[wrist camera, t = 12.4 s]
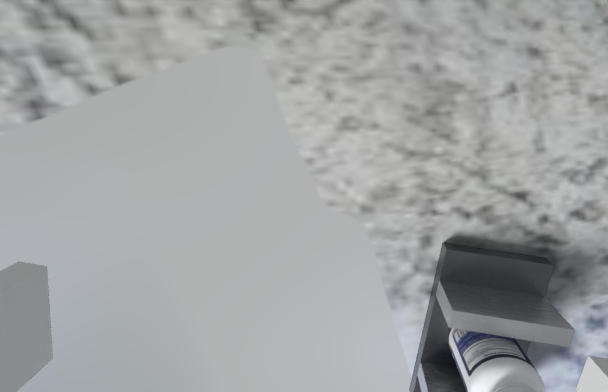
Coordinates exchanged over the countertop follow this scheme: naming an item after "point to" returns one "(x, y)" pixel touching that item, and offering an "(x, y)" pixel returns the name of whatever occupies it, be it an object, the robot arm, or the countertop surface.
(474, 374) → the pill bottle
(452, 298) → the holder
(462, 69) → the countertop surface
